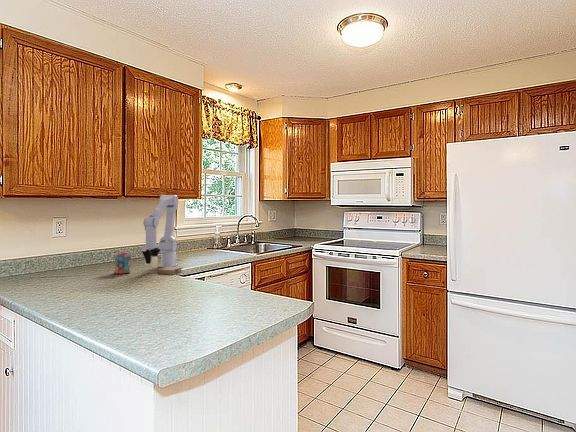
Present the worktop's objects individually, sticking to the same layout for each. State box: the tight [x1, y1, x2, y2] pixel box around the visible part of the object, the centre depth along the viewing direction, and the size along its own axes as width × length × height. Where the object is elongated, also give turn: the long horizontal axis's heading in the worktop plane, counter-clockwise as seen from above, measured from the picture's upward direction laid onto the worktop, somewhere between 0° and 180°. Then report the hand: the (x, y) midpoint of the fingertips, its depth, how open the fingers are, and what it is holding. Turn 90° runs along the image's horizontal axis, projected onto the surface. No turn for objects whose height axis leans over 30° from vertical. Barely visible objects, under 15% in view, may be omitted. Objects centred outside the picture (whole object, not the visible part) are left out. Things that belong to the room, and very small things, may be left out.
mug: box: [112, 252, 137, 275], centre depth 202 cm, size 12×9×11 cm
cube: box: [144, 256, 159, 267], centre depth 204 cm, size 5×5×5 cm
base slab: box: [157, 266, 182, 276], centre depth 205 cm, size 9×9×2 cm
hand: (151, 262), depth 204 cm, fingers closed on cube, 5 cm apart
